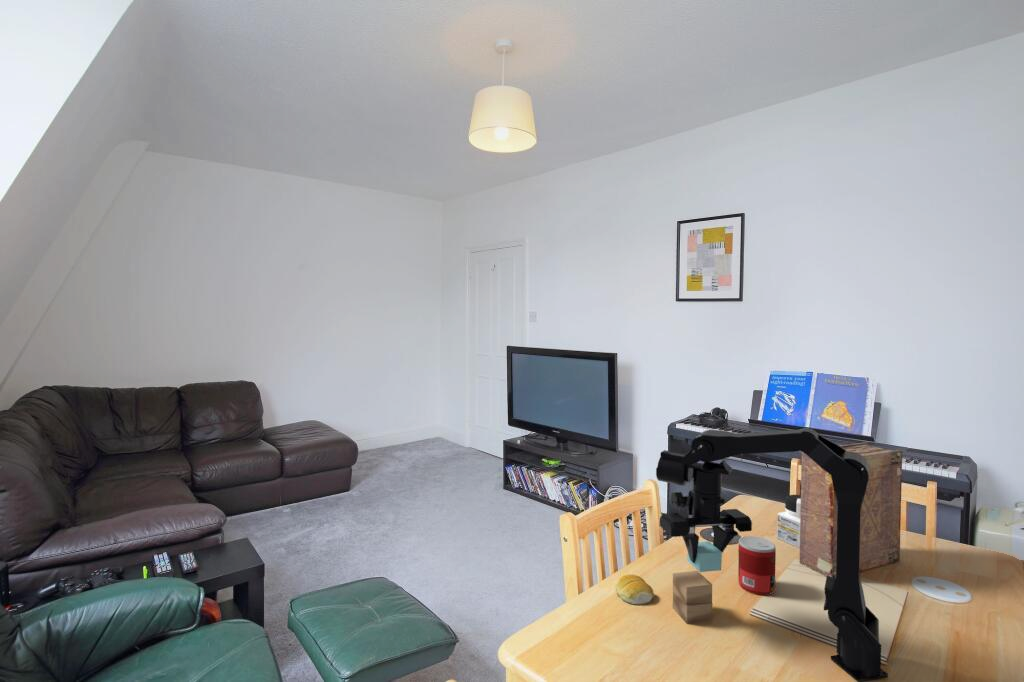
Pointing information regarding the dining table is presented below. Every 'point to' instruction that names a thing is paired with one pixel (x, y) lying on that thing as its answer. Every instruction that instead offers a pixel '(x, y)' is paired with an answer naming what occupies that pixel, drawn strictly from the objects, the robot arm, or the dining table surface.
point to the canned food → (756, 565)
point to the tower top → (692, 587)
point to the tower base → (692, 611)
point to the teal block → (707, 557)
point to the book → (875, 512)
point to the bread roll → (634, 589)
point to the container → (790, 521)
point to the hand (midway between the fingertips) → (704, 560)
